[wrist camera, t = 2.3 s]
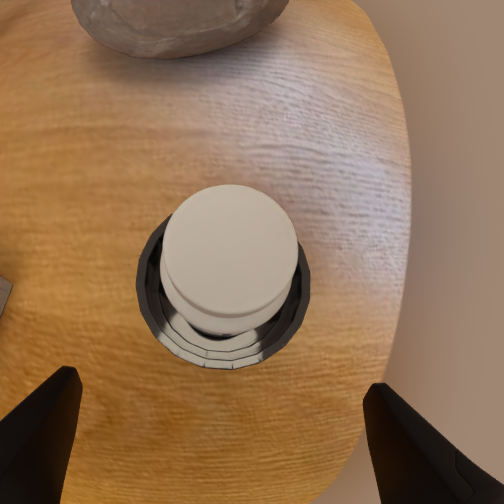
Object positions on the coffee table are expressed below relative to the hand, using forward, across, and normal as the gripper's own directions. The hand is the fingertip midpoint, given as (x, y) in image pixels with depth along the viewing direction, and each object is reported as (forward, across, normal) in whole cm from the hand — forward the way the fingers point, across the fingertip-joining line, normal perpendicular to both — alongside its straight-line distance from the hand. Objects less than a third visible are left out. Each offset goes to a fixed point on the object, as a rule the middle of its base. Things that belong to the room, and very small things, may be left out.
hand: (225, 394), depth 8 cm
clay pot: (+31, +7, -14) cm, 34 cm away
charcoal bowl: (+11, 0, +4) cm, 12 cm away
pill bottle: (+11, 0, +4) cm, 12 cm away
